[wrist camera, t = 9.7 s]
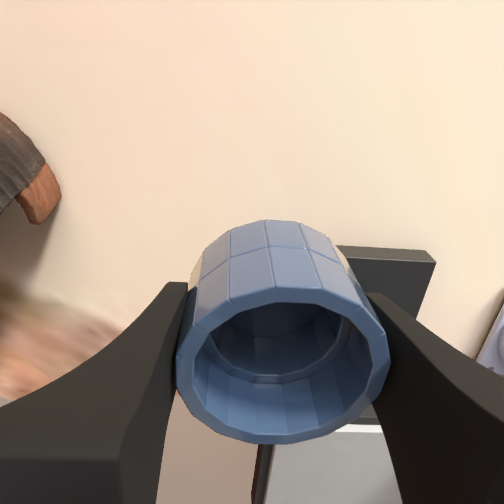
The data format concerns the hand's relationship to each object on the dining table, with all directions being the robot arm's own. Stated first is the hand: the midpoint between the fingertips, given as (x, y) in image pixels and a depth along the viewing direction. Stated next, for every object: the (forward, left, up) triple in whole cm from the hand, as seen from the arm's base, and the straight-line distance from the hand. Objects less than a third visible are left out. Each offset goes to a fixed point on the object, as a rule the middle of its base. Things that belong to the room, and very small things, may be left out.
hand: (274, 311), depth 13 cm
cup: (0, 0, -2) cm, 2 cm away
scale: (-9, +19, -9) cm, 23 cm away
